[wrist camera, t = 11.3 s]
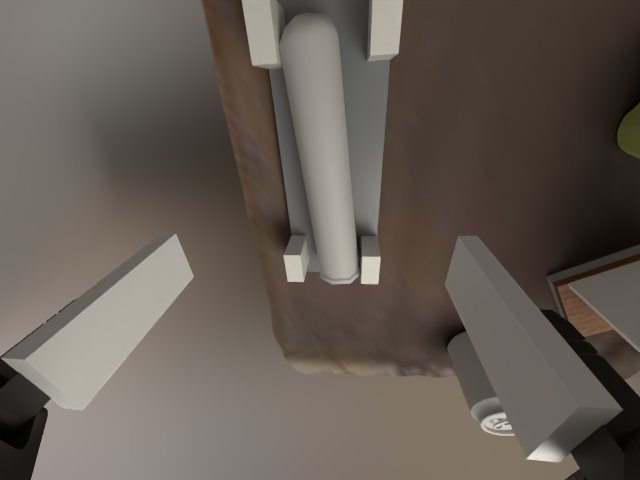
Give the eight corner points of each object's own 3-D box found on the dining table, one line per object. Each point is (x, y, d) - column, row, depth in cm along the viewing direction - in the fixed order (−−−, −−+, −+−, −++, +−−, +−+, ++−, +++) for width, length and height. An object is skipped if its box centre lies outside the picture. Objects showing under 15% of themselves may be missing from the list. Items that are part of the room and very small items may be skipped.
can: (500, 349, 41) (549, 435, 31) (453, 360, 44) (484, 442, 33) (488, 321, 38) (538, 407, 28) (439, 334, 41) (468, 417, 30)
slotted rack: (395, -34, 19) (409, -73, 15) (373, 268, 35) (377, 296, 30) (260, -18, 21) (233, -48, 16) (297, 267, 36) (289, 293, 32)
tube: (257, 17, 18) (312, 280, 30) (323, -8, 16) (354, 288, 28) (293, 27, 22) (329, 256, 34) (350, 8, 20) (366, 261, 32)
